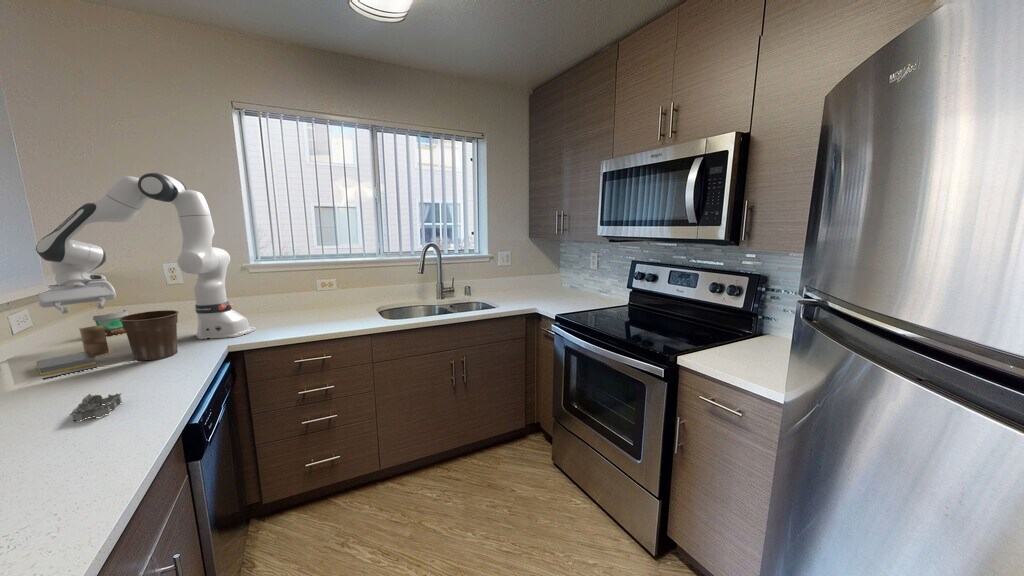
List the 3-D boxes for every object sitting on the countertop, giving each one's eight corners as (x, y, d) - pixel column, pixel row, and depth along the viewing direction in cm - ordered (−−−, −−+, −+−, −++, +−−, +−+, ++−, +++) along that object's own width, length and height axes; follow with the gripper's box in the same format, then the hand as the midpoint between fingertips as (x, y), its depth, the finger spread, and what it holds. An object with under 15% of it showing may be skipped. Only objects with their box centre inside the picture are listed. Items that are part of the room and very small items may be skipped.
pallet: (110, 352, 149) (109, 348, 149) (115, 356, 145) (114, 352, 144) (80, 358, 143) (79, 354, 142) (84, 362, 138) (83, 358, 138)
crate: (106, 349, 147) (101, 325, 146) (109, 352, 144) (104, 327, 142) (84, 354, 143) (79, 328, 141) (87, 357, 140) (81, 330, 138)
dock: (90, 361, 139) (88, 351, 138) (97, 368, 132) (94, 357, 132) (38, 372, 129) (35, 361, 129) (42, 380, 122) (39, 368, 122)
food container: (106, 338, 168) (102, 316, 166) (96, 337, 169) (91, 315, 168) (138, 330, 180) (135, 310, 178) (128, 330, 181) (124, 309, 180)
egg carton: (91, 407, 104) (88, 393, 104) (127, 401, 107) (125, 387, 107) (66, 425, 95) (63, 410, 94) (107, 418, 98) (104, 403, 97)
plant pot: (195, 351, 149) (188, 311, 146) (144, 365, 134) (136, 321, 131) (168, 347, 154) (161, 308, 152) (116, 361, 139) (108, 318, 137)
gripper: (31, 281, 141) (40, 310, 137) (110, 275, 158) (120, 300, 154) (33, 292, 145) (42, 320, 141) (109, 284, 161) (119, 310, 157)
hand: (83, 310), depth 147 cm, fingers open, 8 cm apart
